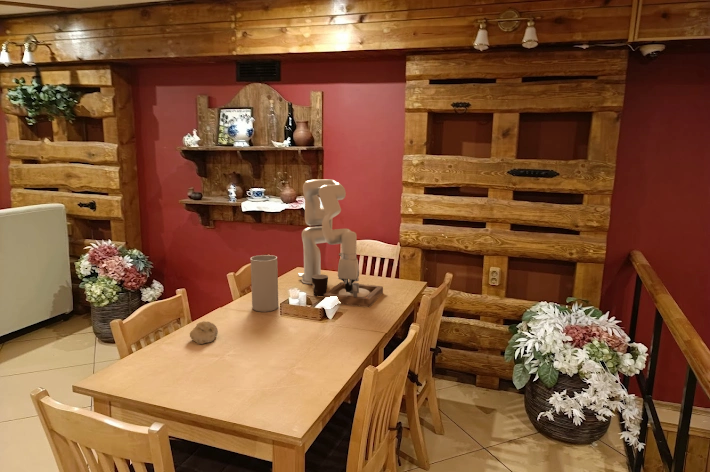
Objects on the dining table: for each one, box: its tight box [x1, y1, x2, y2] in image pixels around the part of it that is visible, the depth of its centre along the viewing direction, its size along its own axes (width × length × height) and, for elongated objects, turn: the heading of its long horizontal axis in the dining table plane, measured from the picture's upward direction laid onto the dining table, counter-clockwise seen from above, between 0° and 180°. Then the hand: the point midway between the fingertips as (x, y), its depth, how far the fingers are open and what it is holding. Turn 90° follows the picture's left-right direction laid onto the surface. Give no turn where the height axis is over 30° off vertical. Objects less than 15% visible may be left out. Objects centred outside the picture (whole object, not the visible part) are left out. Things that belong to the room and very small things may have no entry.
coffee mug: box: [312, 273, 329, 297], centre depth 266 cm, size 12×9×10 cm
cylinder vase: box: [250, 254, 279, 313], centre depth 242 cm, size 12×12×25 cm
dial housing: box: [323, 281, 384, 308], centre depth 260 cm, size 24×24×4 cm
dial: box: [339, 281, 370, 297], centre depth 257 cm, size 21×16×6 cm
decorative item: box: [189, 321, 219, 345], centre depth 205 cm, size 12×9×10 cm
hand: (348, 291), depth 255 cm, fingers closed
